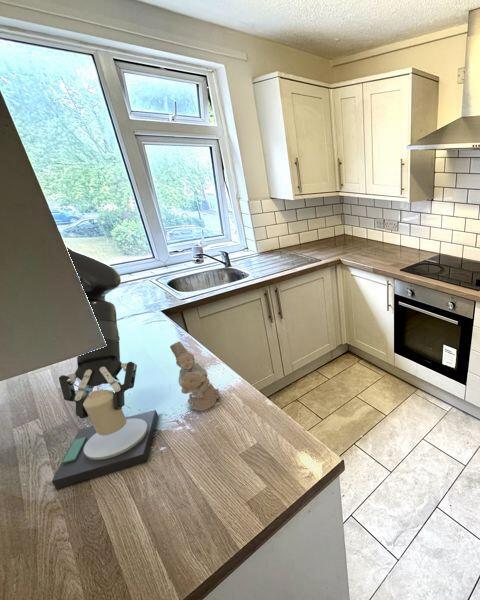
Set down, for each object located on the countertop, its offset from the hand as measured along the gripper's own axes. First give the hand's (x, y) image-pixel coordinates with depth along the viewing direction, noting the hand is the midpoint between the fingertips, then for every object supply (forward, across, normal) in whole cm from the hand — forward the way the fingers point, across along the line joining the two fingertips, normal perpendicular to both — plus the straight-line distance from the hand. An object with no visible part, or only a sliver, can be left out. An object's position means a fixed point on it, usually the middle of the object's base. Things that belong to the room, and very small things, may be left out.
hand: (101, 413), depth 74 cm
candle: (+3, 0, +5) cm, 6 cm away
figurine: (+1, +17, +16) cm, 24 cm away
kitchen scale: (+7, -2, +10) cm, 12 cm away
